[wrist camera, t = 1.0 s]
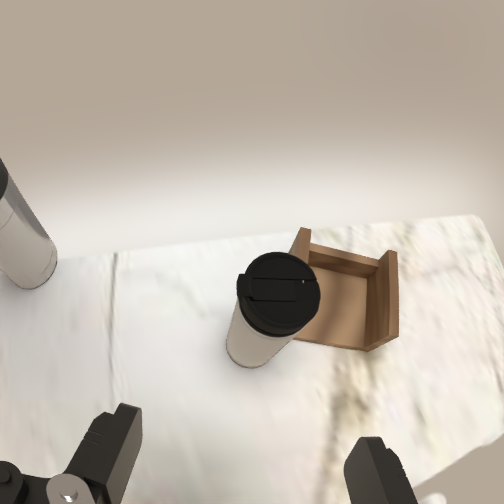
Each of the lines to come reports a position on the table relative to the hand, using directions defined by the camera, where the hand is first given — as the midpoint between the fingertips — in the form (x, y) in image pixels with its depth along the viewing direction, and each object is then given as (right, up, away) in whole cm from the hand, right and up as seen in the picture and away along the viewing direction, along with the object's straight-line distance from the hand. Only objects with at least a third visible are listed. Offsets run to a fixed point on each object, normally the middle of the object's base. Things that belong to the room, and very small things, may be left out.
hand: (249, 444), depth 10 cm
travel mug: (0, -5, +30) cm, 31 cm away
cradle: (+11, -1, +35) cm, 36 cm away
